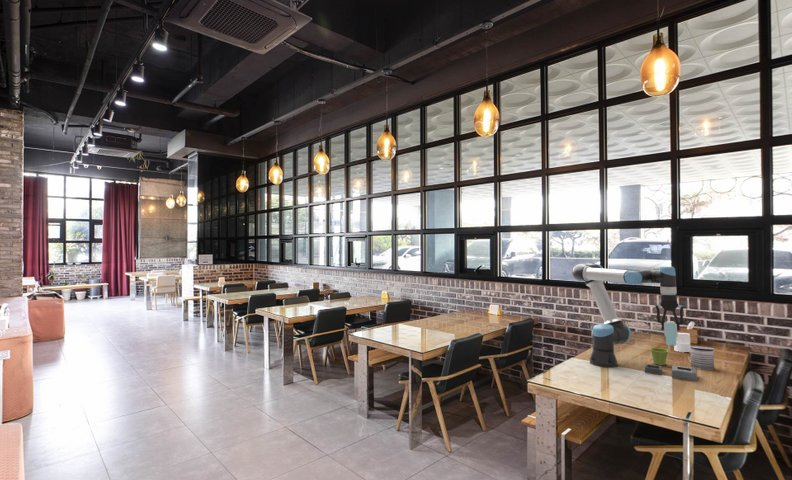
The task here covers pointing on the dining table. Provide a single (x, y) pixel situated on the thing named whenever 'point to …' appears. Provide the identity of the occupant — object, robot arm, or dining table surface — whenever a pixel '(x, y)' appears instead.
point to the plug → (670, 333)
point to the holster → (653, 369)
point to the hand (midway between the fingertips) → (671, 336)
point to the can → (702, 357)
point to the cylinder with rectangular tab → (682, 342)
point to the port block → (684, 373)
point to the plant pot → (659, 356)
